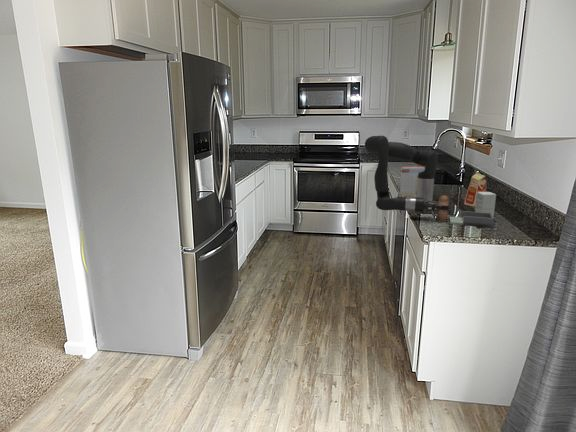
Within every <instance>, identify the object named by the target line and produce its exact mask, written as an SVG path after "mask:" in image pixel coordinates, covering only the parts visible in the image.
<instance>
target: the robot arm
mask: <svg viewBox="0 0 576 432" xmlns="http://www.w3.org/2000/svg"><path fill="white" fill-rule="evenodd" d="M364 148H365V150H366V151H367V152H368V153H370V154H377V156H378V163H377V167H376V169H375V172H374V179H373V180H374V189H375V191H376V198H377V199H376V201H375V205H376V207H377V209H379V210H381V211H394V210H395V211H396V210H398V211H407V212H415V213H417V212H418V213H424V211H425V210H427V211H428V212H429V211H431V212H433V211H434V212H438V211H440V210H448V211H449V210H450V205H449V206H443V205H438V203H439V201H435V200H433V196H434V195H433V194H434V186H435V185H434V184H435V175H436V173H437V168H438V162H439V161H438V160H439V159H438V157H439V156H438V153H437V152H436V151H434V150H425V149H423V150H422V149H415V148H413V147H412V146H411V145H410V144H408V143H407V144H406V143H402V142H397V141H389V140H388V137H387V136H385V135H373V136H369V137H367V138H366V139H365V141H364ZM389 158H392V159H396V160H397V161H398V160H399V161H403V162H412V163H413V164H417V165H418V166H420V167H424V168H425V170H424V171H423V172H420V173H418V182H417V194H416V198H415V197H399V196H397V197H390V196H391V195H390V190H389V177H388V167H389V166H388V163H389Z"/></svg>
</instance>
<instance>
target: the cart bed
mask: <svg viewBox="0 0 576 432" xmlns="http://www.w3.org/2000/svg"><path fill="white" fill-rule="evenodd" d="M461 212H462V214H461V216H449V222H450V225H456V224H457V225H459V226H468V225H470V226H471V227H479V228H480V227H481V228H483V227H484V228H494V227H495V220H496V219H495V217H494V216H493V215H492V213H482V212H475V211H468V210H467V211H466V210H465V211H464V210H463V211H461ZM457 225H456V226H457Z"/></svg>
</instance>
